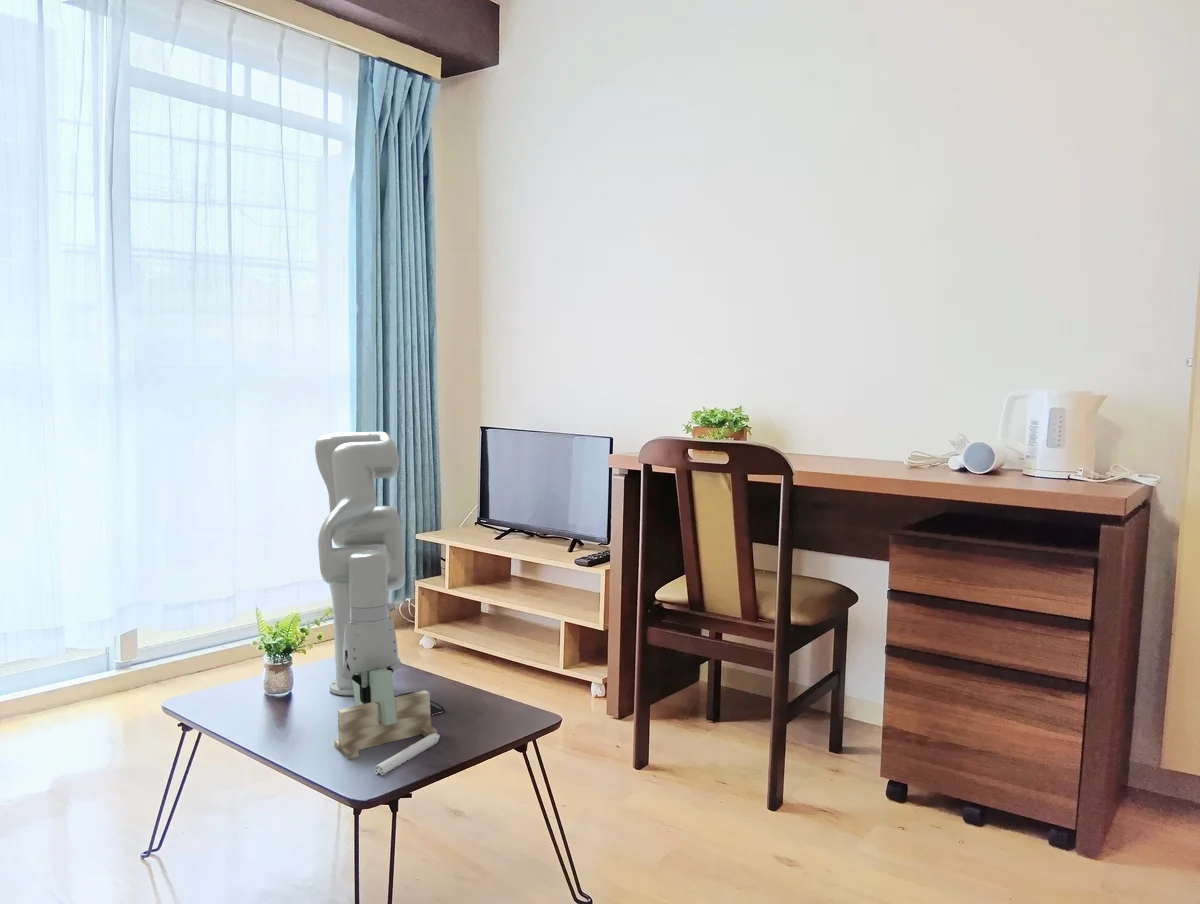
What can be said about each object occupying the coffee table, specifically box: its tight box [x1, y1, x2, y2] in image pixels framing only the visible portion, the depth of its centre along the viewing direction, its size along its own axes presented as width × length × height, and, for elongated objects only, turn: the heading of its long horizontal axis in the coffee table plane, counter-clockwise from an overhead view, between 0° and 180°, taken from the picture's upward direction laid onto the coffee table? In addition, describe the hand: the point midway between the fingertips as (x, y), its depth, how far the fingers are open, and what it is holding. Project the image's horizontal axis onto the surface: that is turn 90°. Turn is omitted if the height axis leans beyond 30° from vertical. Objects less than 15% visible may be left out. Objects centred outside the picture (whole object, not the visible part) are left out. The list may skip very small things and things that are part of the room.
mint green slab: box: [352, 669, 397, 725], centre depth 175 cm, size 18×2×10 cm, turn 35°
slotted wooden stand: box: [333, 690, 438, 760], centre depth 171 cm, size 18×8×8 cm, turn 125°
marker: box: [374, 733, 440, 775], centre depth 163 cm, size 18×2×2 cm, turn 154°
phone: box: [394, 691, 445, 715], centre depth 190 cm, size 8×1×15 cm
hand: (373, 702), depth 176 cm, fingers closed on mint green slab, 2 cm apart
